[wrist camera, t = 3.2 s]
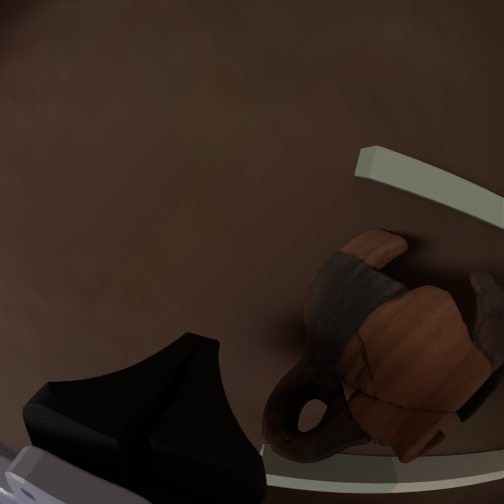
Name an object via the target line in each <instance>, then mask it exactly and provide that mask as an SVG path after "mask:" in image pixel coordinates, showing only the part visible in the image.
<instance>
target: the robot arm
mask: <svg viewBox="0 0 504 504" xmlns="http://www.w3.org/2000/svg"><path fill="white" fill-rule="evenodd" d="M219 347H220V343H219V341H218V340H215V339H211V338H207V337H203V336H200V335H196V334H193V333H189V332H187V333H185V334H184V335H182V336H181V337H180V338H178V339H177V340H175V341H174V342H173V343H171V344H170V345H168V346H167V347H165V348H164V349H162V350H160V351H159V352H157V353H156V354H154V355H152V356H150V357H149V358H147V359H145V360H143V361H141V362H139V363H137V364H135V365H133V366H130V367H128V368H125V369H123V370H120V371H117V372H113V373H110V374H106V375H103V376H99V377H94V378H89V379H83V380H75V381H61V382H48V383H46V384H45V385H44V386H43V387H42V388H41V389H40V390H39V391H38V392H37V393H36V394H35V395H34V396H33V397H32V398H31V399H30V400H29V402H28V403H27V404H26V405H25V406H24V407H23V411H22V414H23V419H24V423H25V426H26V429H27V431H28V434H29V437H30V439H31V442H32V446H27V447H24V448H23V449H22V450H21V452H20V453H18V452H16V451H15V450H13V449H12V448H10V447H9V446H7V445H6V444H4V443H3V442H2V441H0V504H262V502H263V500H264V499H265V497H266V493H267V478H266V472H265V467H264V463H263V458H262V456H261V455H260V453H259V452H258V451H257V450H256V449H255V447H254V446H253V445H252V444H251V442H250V441H249V440H248V438H247V437H246V435H245V434H244V432H243V431H242V429H241V427H240V425H239V423H238V422H237V420H236V418H235V416H234V414H233V412H232V410H231V408H230V405H229V403H228V400H227V397H226V394H225V391H224V388H223V384H222V380H221V375H220V368H219V358H218V352H219Z"/></svg>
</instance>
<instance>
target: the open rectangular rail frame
mask: <svg viewBox="0 0 504 504" xmlns="http://www.w3.org/2000/svg"><path fill="white" fill-rule="evenodd" d="M354 176H358V177H361V178H364V179H367V180H371V181H374V182H377V183H380V184H383V185H386V186H389V187H392V188H395V189H398V190H401V191H404V192H407V193H410V194H413V195H416V196H418V197H421V198H424V199H427V200H430V201H432V202H435V203H438V204H440V205H443V206H446V207H448V208H451V209H453V210H456V211H458V212H461V213H463V214H466V215H468V216H471V217H473V218H476V219H478V220H481V221H483V222H485V223H488V224H490V225H492V226H495V227H497V228H499V229H501V230H504V198H502V197H500V196H498V195H496V194H494V193H492V192H490V191H488V190H486V189H484V188H482V187H480V186H478V185H475V184H473V183H471V182H469V181H467V180H464V179H462V178H460V177H458V176H455V175H453V174H451V173H448V172H446V171H444V170H441V169H439V168H436V167H434V166H431V165H429V164H426V163H424V162H421V161H419V160H416V159H413V158H411V157H408V156H405V155H402V154H400V153H397V152H394V151H391V150H388V149H385V148H383V147H380V146H373V147H368V148H362V149H361V151H360V155H359V159H358V163H357V167H356V171H355V175H354ZM260 455H261V456H262V458H263V463H264V467H265V472H266V478H267V485H271V486H278V487H286V488H294V489H302V490H313V491H325V492H343V493H397V492H414V491H426V490H436V489H445V488H452V487H459V486H465V485H471V484H477V483H482V482H487V481H492V480H496V479H501V478H504V450H498V451H490V452H482V453H473V454H462V455H449V456H427V457H418V458H416V459H414V460H412V461H411V462H409V463H406V464H405V463H401V462H400V461H399V459H398V457H386V456H364V455H349V454H338V453H337V454H335V455H334V456H332V457H330V458H327V459H325V460H322V461H319V462H315V463H308V464H304V463H296V462H293V461H289V460H287V459H285V458H283V457H281V456H279V455H277V454H276V453H275V452H273V451H272V449H271V446H270V444H267V443H264V444H263V446H262V449H261V451H260Z"/></svg>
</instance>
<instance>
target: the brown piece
mask: <svg viewBox="0 0 504 504" xmlns="http://www.w3.org/2000/svg"><path fill="white" fill-rule="evenodd" d="M407 249H408V244H407V241H406V240H405V239H404V238H402V237H400V236H398V235H395V234H391V233H389V232H386V231H383V230H381V229H378V228H373V229H371V230H368V231H365V232H363V233H361V234H360V235H358V236H357V237H355V238H353V239H352V240H350V241H349V242H348V243H347V244H346V245H344V246H343V247H342V248H341V249H340V250H339V251H338V252H336V253H335V254H334V255H333V256H332V257H331V258H330V259H329V261H328V262H327V263H326V264H325V265H324V266H323V267H322V268H321V269H320V271H319V273H318V275H317V277H316V278H315V280H314V281H313V283H312V284H311V286H310V289H309V291H308V293H307V296H306V302H305V307H304V323H305V326H306V338H307V342H308V346H307V348H308V351H307V352H304V353H303V356H302V358H301V360H300V362H299V363H298V364H297V365H296V366H295V367H294V368H293V369H292V370H291V371H290V372H288V373H287V374H286V375H285V376H284V377H283V378H282V379H281V381H280V382H279V383H278V384H277V385H276V387H275V388H274V390H273V391H272V393H271V394H270V396H269V398H268V401H267V403H266V406H265V409H264V412H263V418H262V428H263V429H262V437H263V438H265V439H266V440H267V441H268V442H269V443H270V446H271V449H272V451H273V452H275V453H276V454H277V455H279V456H281V457H283V458H285V459H287V460H289V461H293V462H296V463H304V464H308V463H315V462H319V461H322V460H325V459H327V458H330V457H332V456H334V455H335V454H337V453H339V452H341V451H343V450H345V449H347V448H349V447H352V446H356V445H364V444H367V443H369V442H370V441H371V440H373V441H374V442H373V443H374V444H378V445H381V446H390V447H391V448H392V449H393V451H394V452H395V453H396V455H397V456H398V459H399V461H400V462H401V463H405V464H406V463H409V462H411V461H412V460H414V459H416V458H418V457H420V456H422V455H424V454H425V453H426V452H428V451H429V450H431V449H432V448H433V447H435V446H436V445H438V444H439V443H440V442H442V441H443V440H444V439H445V434H444V433H443V432H442V431H441V430H440V429H441V428H442V427H443V426H444V425H445V424H446V423H447V422H448V421H449V420H450V419H451V418H452V416H453V415H454V412H455V411H456V413H457V415H458V417H459V418H460V421H461V422H462V423H464V422H465V421H467V420H468V419H469V418H470V417H471V416H472V415H473V414H474V413H475V412H476V411H477V410H478V409H479V408H480V407H481V406H482V405H483V403H484V402H485V400H486V399H487V398H488V397H489V396H490V395H491V394H492V393H493V392H494V391H495V390H496V388H497V387H498V386H499V385H500V383H501V382H502V381H503V379H504V289H503V287H502V285H501V284H496V283H495V281H494V279H493V277H492V276H491V274H489V273H487V272H479V271H475V272H473V273H472V274H471V276H470V282H471V285H472V287H473V289H474V291H475V292H476V294H477V299H476V305H477V312H476V320H475V324H474V327H473V332H472V335H471V338H470V336H469V331H468V328H467V325H466V324H465V323H464V321H463V318H462V315H461V313H460V311H459V309H458V307H457V305H456V303H455V301H454V299H453V297H452V296H451V294H450V293H449V292H448V291H444V290H442V289H441V288H438V287H436V286H431V285H426V286H422V287H419V288H415V289H414V290H411V291H409V290H408V288H407V286H406V285H404V284H402V283H401V282H399V281H397V280H394V279H392V278H389V277H388V276H386V275H385V274H383V273H380V272H378V271H379V270H380V269H382V268H383V267H384V266H385V265H386V264H387V263H389V262H390V261H391V260H393V259H394V258H396V257H398V256H399V255H401V254H403V253H405V252H406V251H407ZM340 379H341V380H343V381H344V382H345V383H346V384H347V385H349V386H351V387H352V388H355V389H356V390H355V392H354V393H353V394H352V395H351V396H350V398H349V400H348V402H347V400H346V398H345V395H344V390H343V386H342V383H341V380H340ZM313 399H318V400H321V401H322V402H323V403H325V404H326V405H327V409H326V411H325V414H324V416H323V418H322V420H321V421H320V422H319V423H318V425H317V426H316V427H314V428H313V429H311V430H309V431H307V432H301V431H299V429H298V419H299V415H300V413H301V411H302V408H303V407H304V405H305V404H306V403H307V402H308V401H310V400H313Z"/></svg>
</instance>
